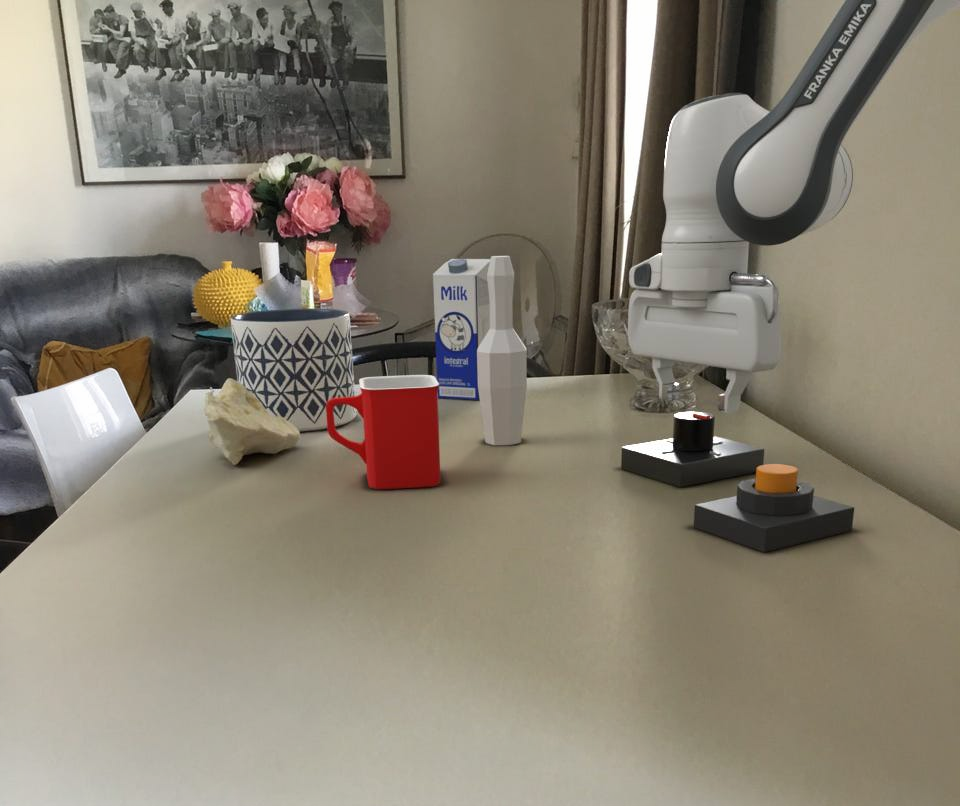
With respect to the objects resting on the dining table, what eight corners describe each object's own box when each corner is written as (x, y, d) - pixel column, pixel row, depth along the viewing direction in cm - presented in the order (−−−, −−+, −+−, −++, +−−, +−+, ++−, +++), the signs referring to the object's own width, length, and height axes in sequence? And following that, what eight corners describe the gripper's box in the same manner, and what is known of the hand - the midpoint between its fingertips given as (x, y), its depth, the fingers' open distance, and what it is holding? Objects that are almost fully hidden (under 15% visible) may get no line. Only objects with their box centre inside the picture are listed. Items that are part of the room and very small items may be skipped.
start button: (774, 483, 98) (776, 461, 97) (804, 491, 95) (806, 469, 94) (746, 489, 96) (748, 467, 95) (775, 498, 93) (777, 475, 92)
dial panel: (701, 454, 124) (702, 431, 123) (763, 470, 116) (765, 447, 115) (620, 468, 119) (621, 445, 118) (680, 487, 111) (681, 462, 110)
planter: (364, 428, 142) (357, 317, 137) (244, 436, 139) (232, 323, 133) (348, 407, 156) (341, 306, 151) (239, 414, 153) (228, 311, 147)
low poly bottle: (518, 434, 137) (516, 254, 128) (535, 444, 131) (534, 256, 123) (471, 438, 135) (466, 256, 126) (487, 448, 129) (483, 258, 121)
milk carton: (496, 392, 165) (493, 257, 157) (478, 400, 160) (475, 260, 152) (455, 390, 168) (451, 257, 160) (436, 397, 162) (431, 260, 154)
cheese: (258, 455, 137) (161, 393, 128) (294, 414, 135) (198, 347, 126) (282, 519, 127) (178, 456, 117) (322, 475, 125) (219, 408, 115)
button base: (778, 508, 103) (782, 468, 101) (852, 530, 96) (857, 487, 94) (693, 527, 98) (695, 485, 96) (764, 552, 91) (768, 507, 89)
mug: (436, 468, 121) (433, 374, 116) (444, 487, 113) (440, 386, 109) (331, 474, 119) (324, 378, 115) (331, 493, 112) (323, 391, 107)
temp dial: (664, 446, 117) (665, 412, 116) (694, 441, 119) (696, 407, 118) (690, 453, 114) (692, 418, 112) (721, 448, 116) (723, 413, 114)
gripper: (801, 272, 102) (790, 415, 108) (663, 266, 119) (659, 390, 124) (754, 276, 99) (745, 423, 105) (619, 270, 116) (617, 397, 121)
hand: (697, 405), depth 114 cm, fingers open, 8 cm apart
